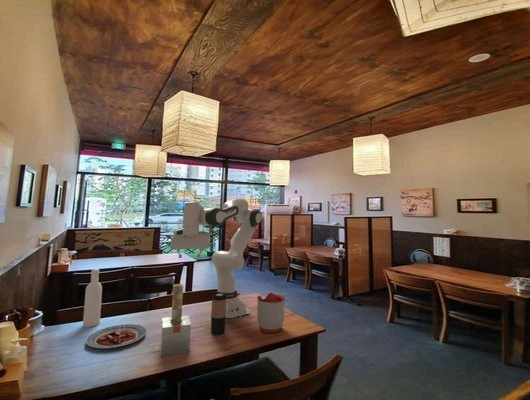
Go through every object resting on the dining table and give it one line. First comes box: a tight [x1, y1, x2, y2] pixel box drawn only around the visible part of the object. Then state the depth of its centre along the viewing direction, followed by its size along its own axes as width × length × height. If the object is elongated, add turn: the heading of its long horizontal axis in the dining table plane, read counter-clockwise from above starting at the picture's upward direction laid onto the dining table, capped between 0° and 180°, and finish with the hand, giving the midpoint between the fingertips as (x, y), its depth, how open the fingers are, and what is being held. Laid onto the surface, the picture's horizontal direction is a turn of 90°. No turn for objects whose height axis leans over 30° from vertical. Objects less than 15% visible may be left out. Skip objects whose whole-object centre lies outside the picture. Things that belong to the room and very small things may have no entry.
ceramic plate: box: [85, 323, 147, 349], centre depth 128 cm, size 26×26×3 cm
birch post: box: [170, 283, 184, 324], centre depth 122 cm, size 4×4×20 cm
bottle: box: [82, 268, 103, 329], centre depth 144 cm, size 8×8×30 cm
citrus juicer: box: [256, 291, 286, 334], centre depth 145 cm, size 16×17×20 cm
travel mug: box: [210, 291, 227, 336], centre depth 138 cm, size 8×8×20 cm
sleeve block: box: [160, 314, 192, 357], centre depth 121 cm, size 12×13×12 cm
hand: (189, 257), depth 139 cm, fingers open, 8 cm apart
